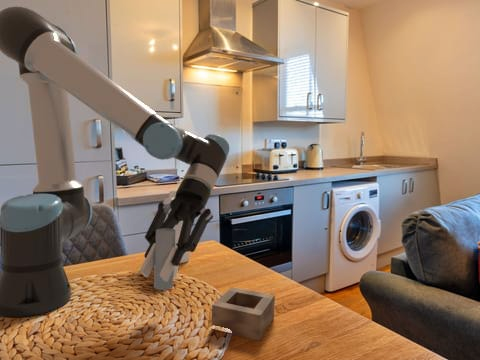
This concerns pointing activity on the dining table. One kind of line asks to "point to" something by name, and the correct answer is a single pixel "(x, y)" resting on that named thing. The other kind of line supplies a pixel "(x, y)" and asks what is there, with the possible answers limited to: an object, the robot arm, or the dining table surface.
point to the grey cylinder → (163, 256)
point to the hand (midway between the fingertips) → (153, 276)
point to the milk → (176, 226)
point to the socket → (244, 312)
